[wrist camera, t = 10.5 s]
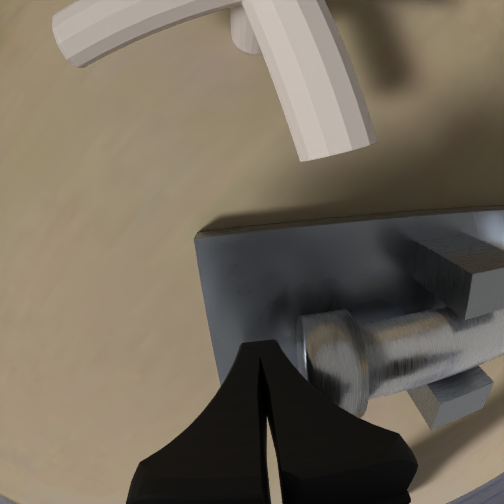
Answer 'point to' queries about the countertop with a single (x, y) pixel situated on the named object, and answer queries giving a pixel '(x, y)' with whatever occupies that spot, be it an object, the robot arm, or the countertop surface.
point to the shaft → (391, 352)
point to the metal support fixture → (356, 283)
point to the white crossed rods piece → (253, 42)
